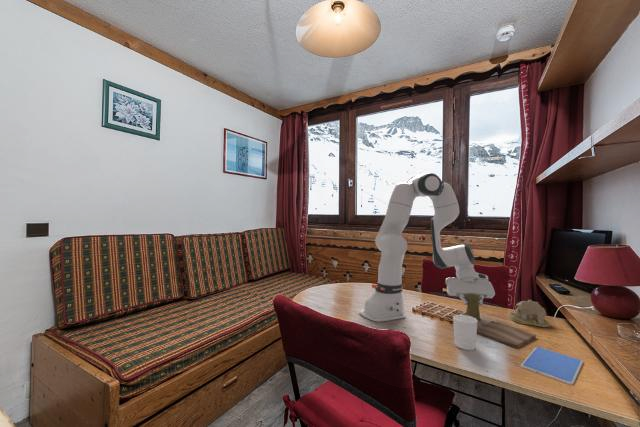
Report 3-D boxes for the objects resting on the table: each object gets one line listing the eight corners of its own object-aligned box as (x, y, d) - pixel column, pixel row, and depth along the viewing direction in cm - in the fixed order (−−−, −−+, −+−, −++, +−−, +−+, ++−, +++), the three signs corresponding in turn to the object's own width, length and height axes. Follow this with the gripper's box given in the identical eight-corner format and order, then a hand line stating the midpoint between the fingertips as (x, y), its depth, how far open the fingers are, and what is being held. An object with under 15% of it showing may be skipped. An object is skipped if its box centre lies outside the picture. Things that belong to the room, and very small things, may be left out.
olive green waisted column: (479, 316, 131) (479, 293, 131) (481, 321, 125) (482, 296, 125) (464, 314, 133) (464, 291, 133) (466, 319, 127) (466, 295, 127)
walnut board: (516, 348, 100) (516, 345, 100) (472, 331, 114) (472, 329, 114) (535, 337, 109) (535, 334, 109) (492, 323, 123) (492, 320, 123)
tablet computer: (572, 387, 79) (572, 383, 79) (519, 368, 89) (519, 364, 89) (583, 364, 92) (583, 360, 91) (536, 349, 101) (536, 345, 101)
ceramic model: (540, 318, 129) (540, 297, 129) (555, 328, 118) (555, 305, 118) (506, 316, 132) (506, 295, 132) (517, 325, 121) (517, 302, 121)
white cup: (476, 353, 97) (476, 324, 97) (451, 347, 101) (451, 319, 101) (477, 344, 103) (478, 317, 103) (454, 339, 108) (454, 313, 108)
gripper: (445, 273, 137) (450, 299, 128) (491, 276, 133) (499, 303, 124) (443, 280, 142) (448, 306, 132) (487, 282, 138) (495, 309, 128)
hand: (473, 304), depth 128 cm, fingers closed on olive green waisted column, 5 cm apart
